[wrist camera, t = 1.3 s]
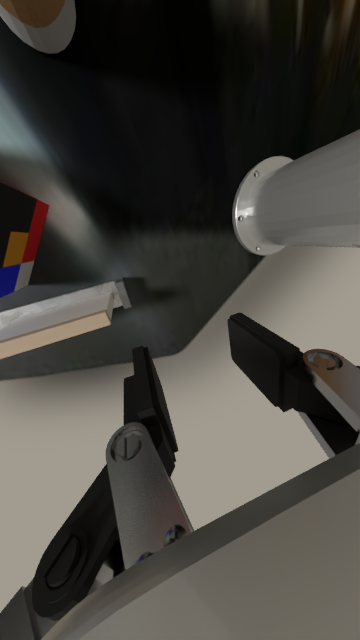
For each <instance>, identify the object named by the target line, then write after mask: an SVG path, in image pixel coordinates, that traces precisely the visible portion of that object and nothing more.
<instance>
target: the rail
mask: <svg viewBox="0 0 360 640" xmlns="http://www.w3.org/2000/svg"><path fill="white" fill-rule="evenodd" d="M109 292H111V293H112V295H113V298H114V305H113V308H116V307H119V306H123V307H124V309H126V308H130V307H132V305H131V299H130V297H129V294H128V291H127V288H126V286H125V283H124V280H123V277H122V278H118V279H114V280H111V281H107V282H104V283H100V284H96V285H93V286H89V287H85V288H82V289H78V290H74V291H71V292H67V293H64V294H60V295H56V296H53V297H49V298H45V299H42V300H38V301H35V302H31V303H27V304H24V305H20V306H16V307H13V308H9V309H5V310H2V311H0V330H1V329H3V328H4V327H5V326H7V325H8V324H10V323H11V322H12V321H14V320H15V319H17V318H21V317H24V316H28V315H31V314H35V313H38V312H42V311H45V310H49V309H52V308H56V307H60V306H63V305H67V304H70V303H74V302H77V301H81V300H84V299H88V298H91V297H95V296H98V295H102V294H105V293H109Z"/></svg>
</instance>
